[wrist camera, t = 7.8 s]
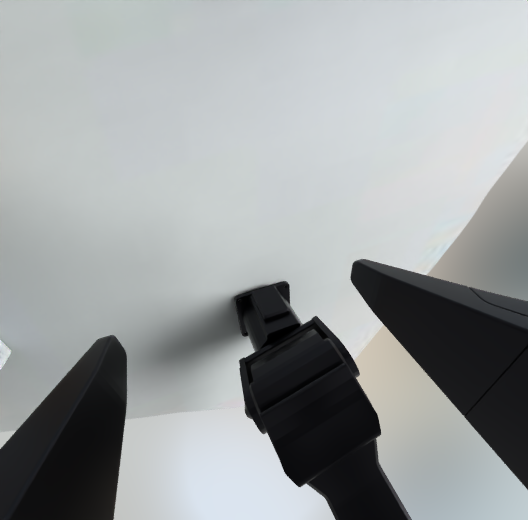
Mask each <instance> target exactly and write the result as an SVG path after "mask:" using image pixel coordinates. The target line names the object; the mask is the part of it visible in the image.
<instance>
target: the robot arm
mask: <svg viewBox="0 0 528 520" xmlns="http://www.w3.org/2000/svg"><path fill="white" fill-rule="evenodd" d="M351 281H352V283H353V285H354V286H355V287H356V289H357V290H358V292H359V293H360V295H361V296H362V297H363V299H364V300H365V302H366V303H367V304H368V306H369V307H370V308H371V310H372V311H373V312H374V314H375V315H376V316H377V317H378V318H379V319H380V321H381V322H382V323H383V324H384V325H385V326H386V327H387V328H388V330H389V331H390V332H391V333H392V334H393V335H394V337H395V338H396V339H397V340H398V341H399V342H400V343H401V345H402V346H403V347H404V348H405V349H406V350H407V351H408V353H409V354H410V355H411V356H412V357H413V358H414V359H415V361H416V362H417V363H418V364H419V365H420V366H421V368H422V369H423V370H424V371H425V372H426V373H427V374H428V376H429V377H430V378H431V379H432V380H433V381H434V382H435V384H436V385H437V386H438V387H439V388H440V389H441V390H442V392H443V393H444V394H445V395H446V396H447V397H448V398H449V400H450V401H451V402H452V403H453V404H454V405H455V407H456V408H457V409H458V410H459V411H460V412H461V413H462V415H464V417H465V418H466V419H467V420H468V422H469V423H470V424H471V425H472V426H473V427H474V429H475V430H476V431H477V432H478V433H479V434H480V435H481V437H482V438H483V439H484V440H485V441H486V442H487V443H488V444H489V446H490V447H491V448H492V449H493V450H494V451H495V453H496V454H497V455H498V456H499V457H500V458H501V459H502V461H503V462H504V463H505V464H506V465H507V466H508V468H509V469H510V470H511V471H512V472H513V473H514V474H515V476H516V477H517V478H518V479H519V480H520V481H521V482H522V484H523V485H524V486H525V487H526V488H527V489H528V301H524V300H519V299H516V298H511V297H507V296H502V295H499V294H495V293H491V292H487V291H483V290H479V289H475V288H472V287H467V286H464V285H460V284H456V283H452V282H449V281H445V280H441V279H437V278H434V277H430V276H426V275H422V274H419V273H415V272H411V271H407V270H404V269H400V268H396V267H392V266H389V265H385V264H381V263H377V262H373V261H370V260H366V259H360V260H357V261H355V262H354V263H353V265H352V271H351ZM285 285H286V286H285ZM239 299H241V300H239ZM235 304H236V309H237V314H238V318H239V323H240V328H241V333H242V335H243V336H249V338H250V340H251V343H252V345H253V348H254V351H255V352H254V353H253V354H251V355H249V356H248V357H246V358H242V359H240V360H239V363H240V375H241V382H242V388H243V395H244V401H245V413H246V415H247V417H248V418H250V419H253V421H254V422H255V424H256V425H257V427H258V429H259V430H260V432H261V433H262V434H265V433H266V432H267V433H268V435H269V437H270V440H271V442H272V444H273V446H274V448H275V451H276V453H277V455H278V457H279V459H280V462H281V464H282V467H283V469H284V472H285V474H286V475H287V476H288V477H289V478H290V479H291V480H292V481H293V482H294V483H295V484H296V485H297V486H298V487H301V486H303V485H304V484H306V483H307V484H308V485H309V486H311V487H312V488H313V489H314V490H316V491H317V492H318V493H320V494H321V495H322V496H323V497H324V498H325V499H326V500H327V502H328V504H329V507H330V509H331V511H332V513H333V515H334V517H335V519H336V520H412V519H411V517H410V516H409V514H408V512H407V511H406V509H405V507H404V505H403V504H402V502H401V500H400V499H399V497H398V495H397V494H396V492H395V490H394V489H393V487H392V485H391V483H390V482H389V480H388V478H387V476H386V475H385V473H384V472H383V470H382V468H381V466H380V464H379V462H378V451H377V442H376V438H377V437H378V436H380V435H381V429H380V424H379V419H378V415H377V413H376V412H375V410H374V408H373V407H372V405H371V403H370V401H369V399H368V398H367V396H366V394H365V393H364V391H363V389H362V388H361V386H360V384H359V383H358V381H357V379H356V377H358V376H359V375H360V373H359V370H358V368H357V366H356V364H355V362H354V360H353V358H352V357H351V355H350V354H349V352H348V351H347V349H346V348H345V346H344V345H343V344H342V342H341V341H340V340H339V339H338V338H337V337H336V336H335V335H334V334H333V333H332V332H331V330H330V329H329V328H328V327H327V326H326V325H325V324H324V323H323V322H322V321H321V320H320V319H319V318H318V317H317V316H315V317H313V318H312V320H310V321H308V322H307V323H305V324H302V323H301V321H300V320H299V318H298V317H297V315H296V314H295V312H294V311H293V309H292V308H291V306H290V290H289V284H288V282H286V281H285V282H281V283H278V284H274V285H271V286H268V287H264V288H261V289H258V290H255V291H251V292H248V293H245V294H241V295H238V296H236V297H235ZM245 332H246V333H245ZM126 406H127V355H126V352H125V350H124V348H123V347H122V345H121V344H120V342H119V341H118V339H117V338H116V337H115V336H114V335H110V336H106V337H103V338H100V339H98V340H97V341H96V342H95V343H94V344H93V345H92V346H91V348H90V349H89V350H88V351H87V352H86V353H85V354H84V355H83V357H82V358H81V359H80V360H79V361H78V362H77V363H76V364H75V366H74V367H73V368H72V369H71V370H70V371H69V372H68V373H67V375H66V376H65V377H64V378H63V379H62V380H61V381H60V382H59V384H58V385H57V386H56V387H55V388H54V389H53V390H52V391H51V393H50V394H49V395H48V396H47V397H46V398H45V399H44V401H43V402H42V403H41V404H40V405H39V406H38V407H37V408H36V410H35V411H34V412H33V413H32V414H31V415H30V416H29V417H28V419H27V420H26V421H25V422H24V423H23V424H22V425H21V426H20V428H19V429H18V430H17V431H16V432H15V433H14V435H12V437H11V438H10V439H9V440H8V441H7V442H6V444H5V445H4V446H3V447H2V448H1V449H0V520H113V519H114V509H115V502H116V492H117V483H118V476H119V467H120V459H121V450H122V442H123V432H124V425H125V416H126Z"/></svg>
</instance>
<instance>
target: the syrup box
mask: <svg viewBox="0 0 528 520" xmlns="http://www.w3.org/2000/svg"><path fill="white" fill-rule="evenodd" d="M10 354H11V350H10V349H9V348H8V347H7V346H6V345H5V344H4V343H3V342H2V341H1V340H0V370H1V368H2V367H3V365H4V364H5V362H6V361H7V359H8V357H9V356H10Z"/></svg>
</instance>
